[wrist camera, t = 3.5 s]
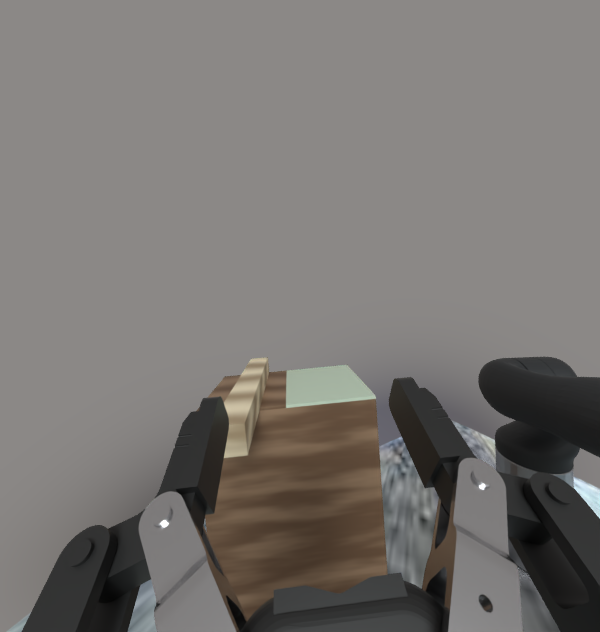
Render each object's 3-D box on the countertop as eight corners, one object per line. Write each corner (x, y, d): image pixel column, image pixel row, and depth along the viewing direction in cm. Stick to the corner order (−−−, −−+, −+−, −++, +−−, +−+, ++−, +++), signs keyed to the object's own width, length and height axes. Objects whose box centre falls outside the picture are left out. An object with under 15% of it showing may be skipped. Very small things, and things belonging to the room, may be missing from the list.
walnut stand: (390, 615, 35) (375, 395, 33) (219, 639, 34) (193, 414, 32) (358, 516, 51) (346, 364, 49) (241, 531, 50) (224, 376, 48)
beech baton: (247, 455, 22) (244, 423, 22) (211, 459, 22) (208, 427, 22) (269, 372, 48) (267, 357, 48) (252, 373, 48) (251, 358, 48)
